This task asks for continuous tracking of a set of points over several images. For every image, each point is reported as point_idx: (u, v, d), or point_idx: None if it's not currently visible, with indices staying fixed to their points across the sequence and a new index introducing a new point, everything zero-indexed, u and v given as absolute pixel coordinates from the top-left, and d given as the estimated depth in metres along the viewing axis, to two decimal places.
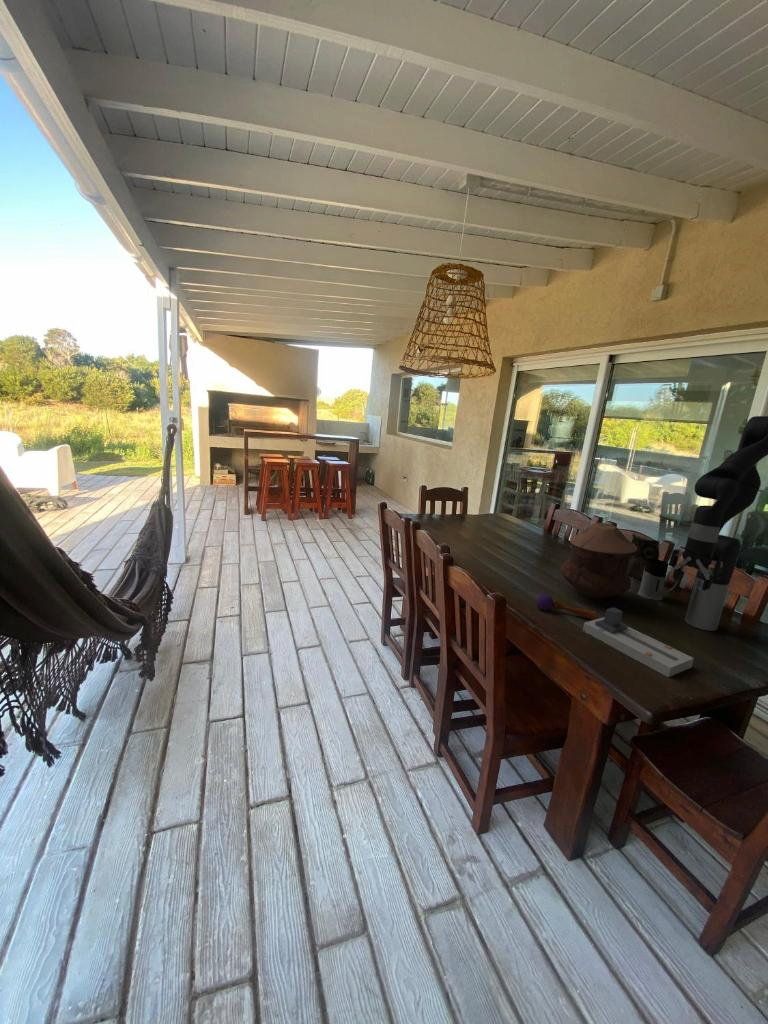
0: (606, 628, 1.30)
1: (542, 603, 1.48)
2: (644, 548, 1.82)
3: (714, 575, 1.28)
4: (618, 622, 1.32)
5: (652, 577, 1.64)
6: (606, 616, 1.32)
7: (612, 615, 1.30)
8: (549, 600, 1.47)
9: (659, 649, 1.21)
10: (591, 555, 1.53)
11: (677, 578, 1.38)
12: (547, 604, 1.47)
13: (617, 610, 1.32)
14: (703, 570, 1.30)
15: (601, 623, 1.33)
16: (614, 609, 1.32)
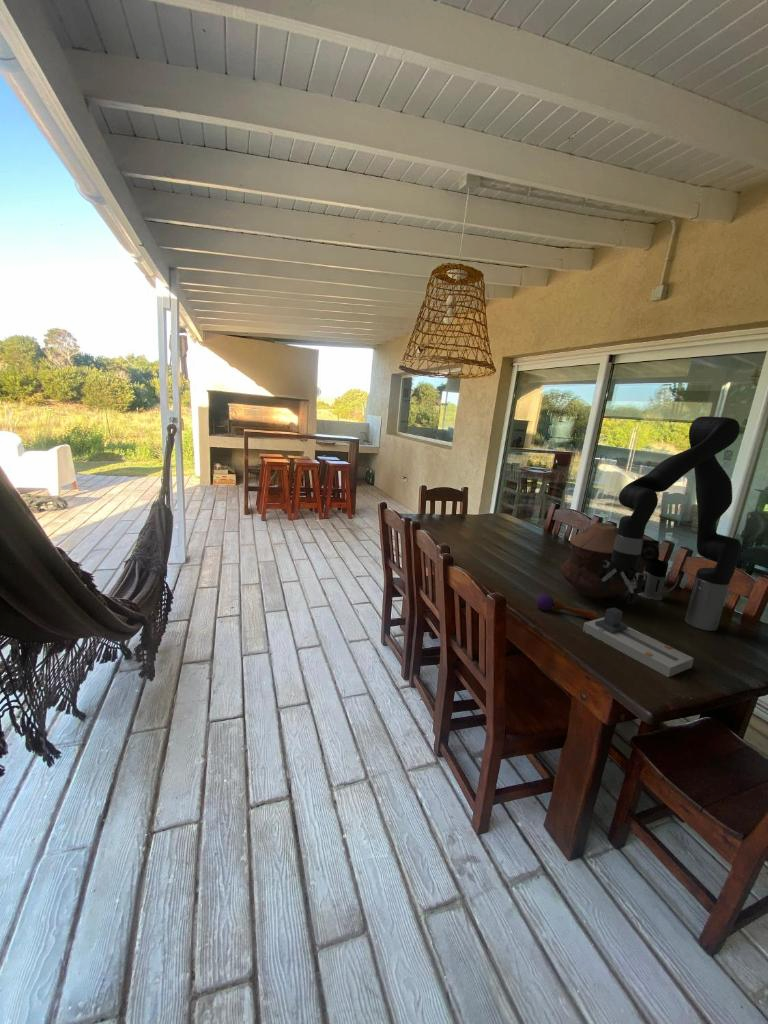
0: (606, 628, 1.30)
1: (542, 603, 1.47)
2: (644, 548, 1.82)
3: (637, 588, 1.23)
4: (618, 622, 1.32)
5: (652, 577, 1.64)
6: (606, 616, 1.32)
7: (612, 615, 1.30)
8: (549, 600, 1.47)
9: (659, 649, 1.21)
10: (591, 555, 1.53)
11: (605, 590, 1.34)
12: (547, 604, 1.47)
13: (617, 610, 1.32)
14: (627, 583, 1.26)
15: (601, 623, 1.33)
16: (614, 609, 1.32)
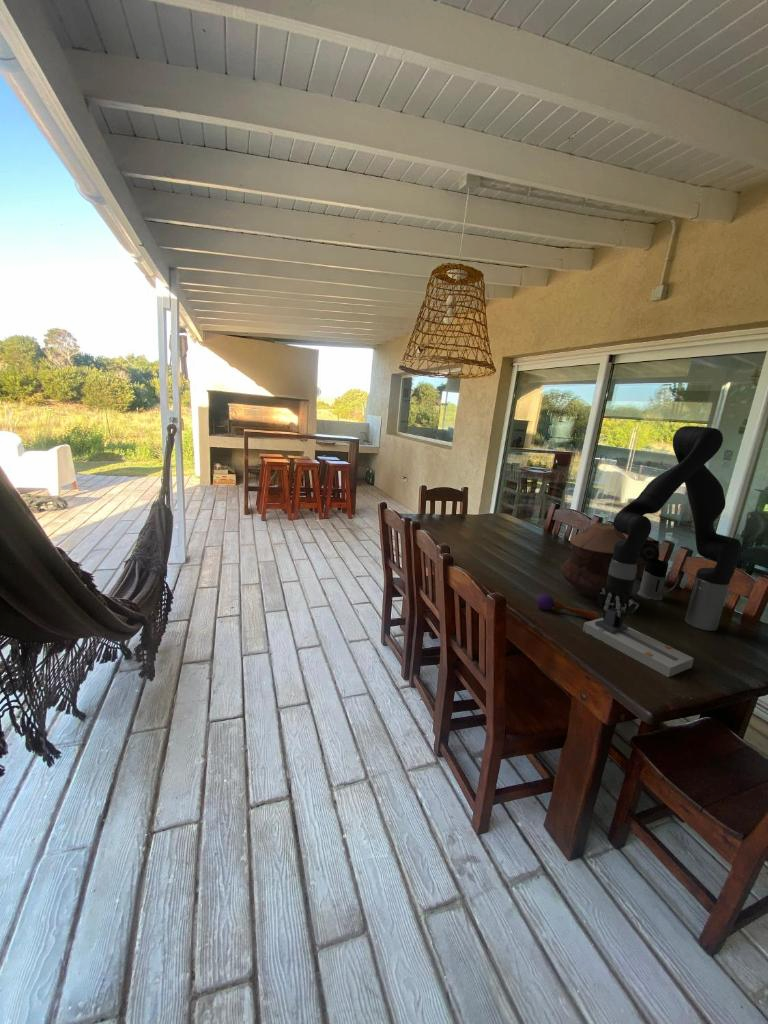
0: (606, 628, 1.30)
1: (542, 603, 1.48)
2: (644, 548, 1.82)
3: (624, 613, 1.28)
4: None
5: (652, 577, 1.64)
6: (606, 616, 1.32)
7: (612, 615, 1.30)
8: (550, 600, 1.47)
9: (659, 649, 1.21)
10: (591, 555, 1.53)
11: None
12: (547, 604, 1.47)
13: None
14: (618, 607, 1.29)
15: (601, 623, 1.33)
16: (614, 609, 1.32)
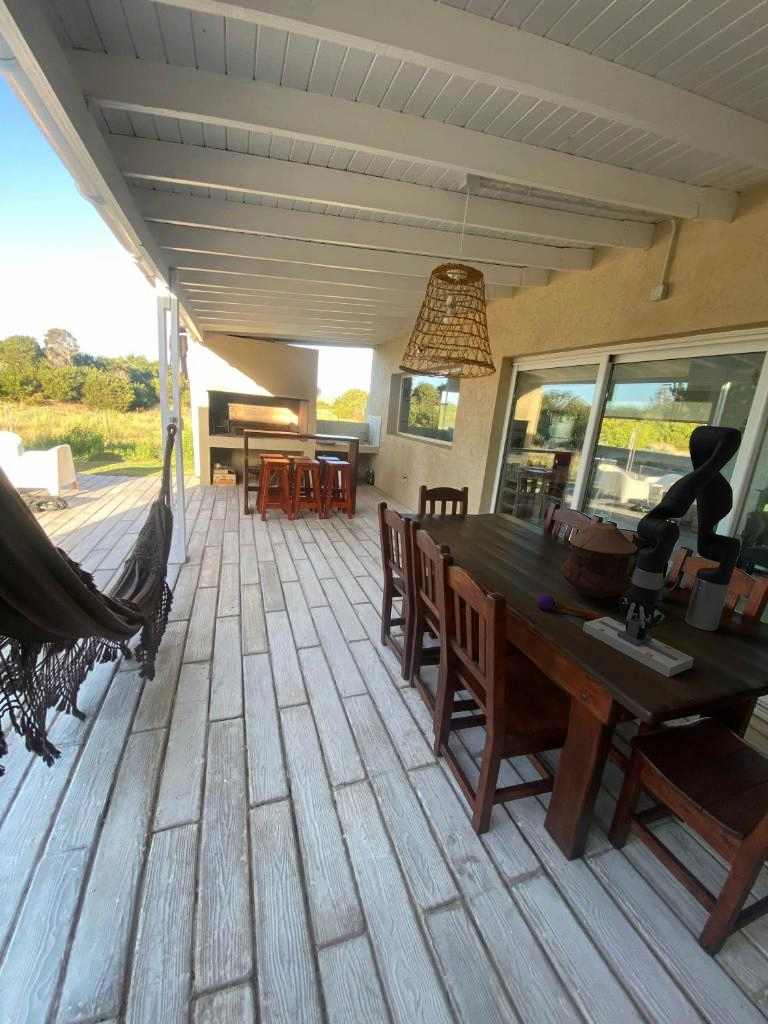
0: (629, 640, 1.24)
1: (542, 603, 1.48)
2: None
3: (648, 624, 1.21)
4: None
5: None
6: (629, 627, 1.26)
7: (636, 627, 1.24)
8: (550, 600, 1.48)
9: (659, 649, 1.21)
10: (591, 555, 1.53)
11: None
12: (548, 604, 1.47)
13: None
14: (642, 618, 1.22)
15: (624, 634, 1.26)
16: (637, 620, 1.26)
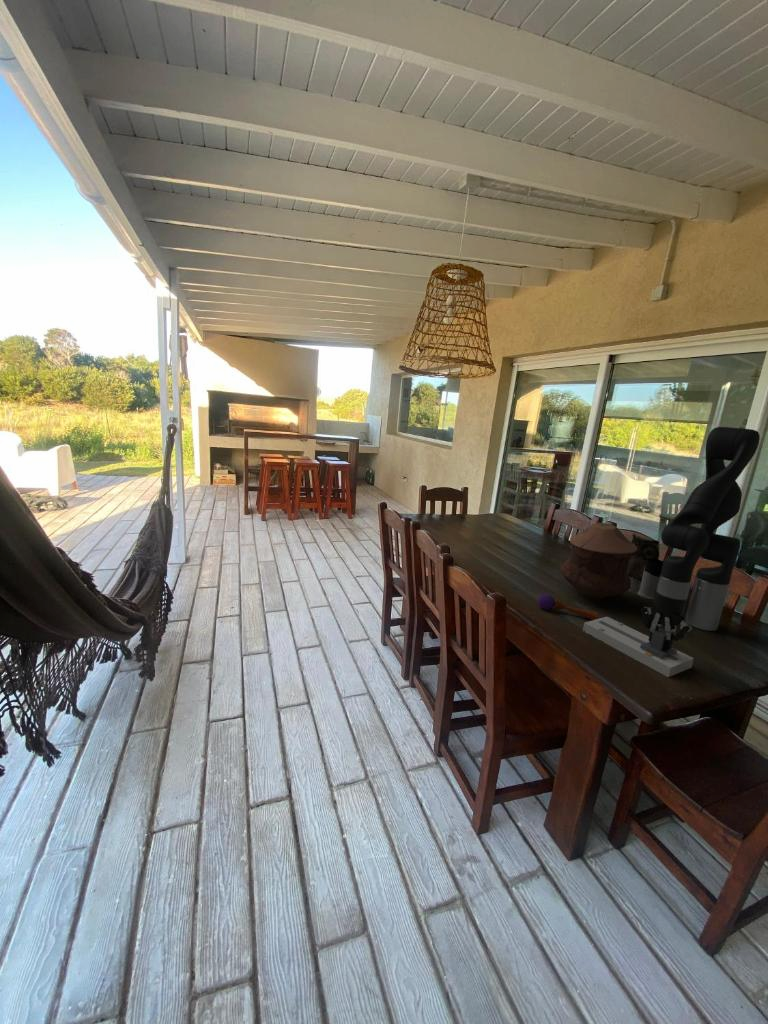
0: (654, 652, 1.17)
1: (543, 603, 1.48)
2: (644, 548, 1.82)
3: (674, 636, 1.15)
4: None
5: (652, 577, 1.64)
6: (653, 639, 1.19)
7: (661, 638, 1.17)
8: (550, 599, 1.48)
9: None
10: (591, 555, 1.53)
11: None
12: (548, 603, 1.47)
13: (665, 632, 1.19)
14: (667, 630, 1.16)
15: (647, 646, 1.20)
16: (662, 631, 1.20)
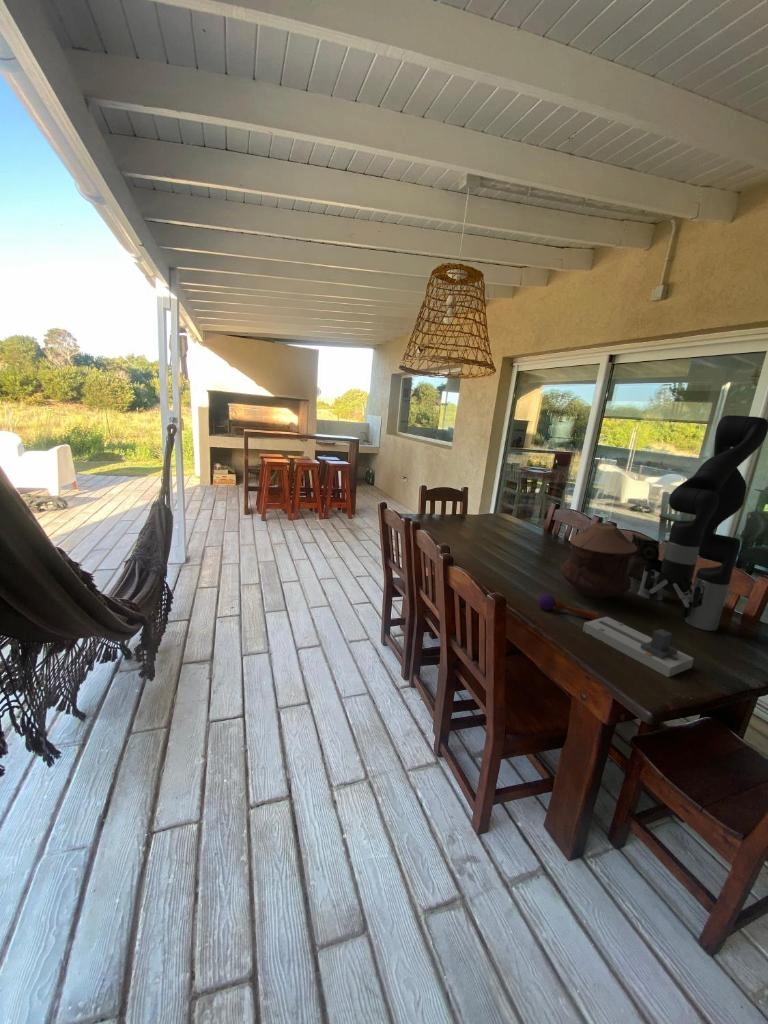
0: (654, 653, 1.17)
1: (543, 603, 1.48)
2: (644, 548, 1.82)
3: (694, 602, 1.10)
4: (667, 646, 1.19)
5: None
6: (653, 639, 1.19)
7: (661, 639, 1.17)
8: (551, 600, 1.48)
9: None
10: (591, 555, 1.53)
11: (653, 603, 1.21)
12: (548, 604, 1.47)
13: (666, 632, 1.19)
14: (681, 596, 1.12)
15: (648, 646, 1.20)
16: (662, 631, 1.19)
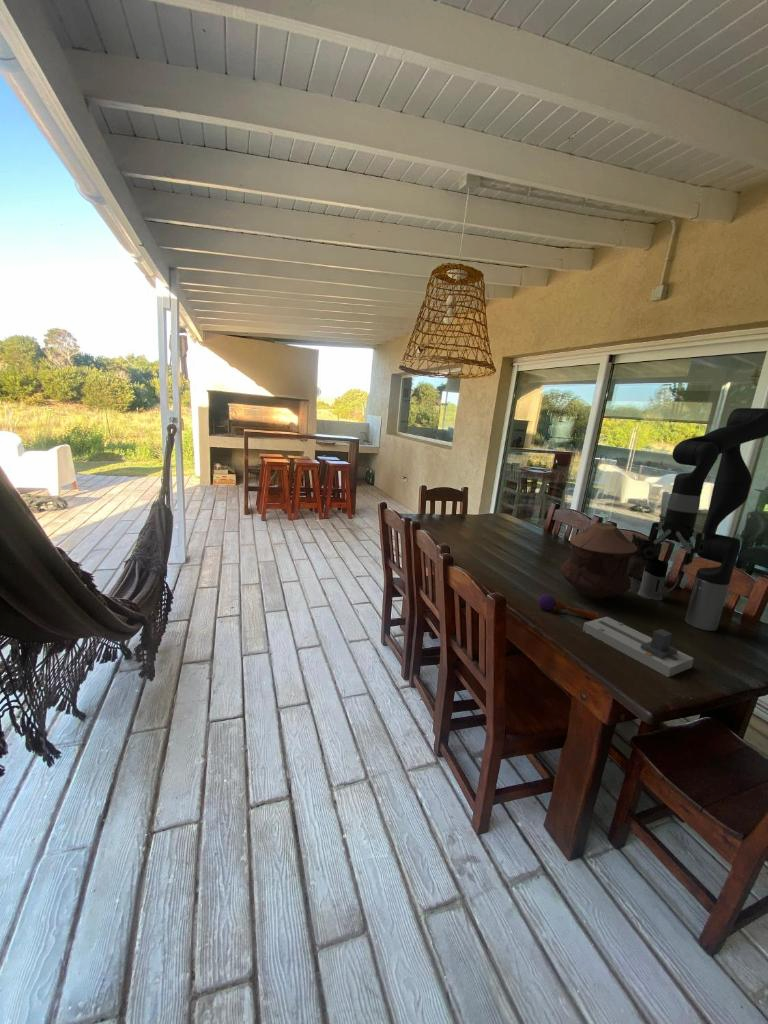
0: (654, 653, 1.17)
1: (543, 603, 1.48)
2: (644, 548, 1.82)
3: (695, 548, 1.18)
4: (667, 646, 1.19)
5: (652, 577, 1.64)
6: (653, 639, 1.19)
7: (661, 639, 1.17)
8: (551, 600, 1.47)
9: None
10: (591, 555, 1.53)
11: (657, 553, 1.28)
12: (549, 604, 1.47)
13: (666, 632, 1.19)
14: (684, 543, 1.20)
15: (648, 646, 1.20)
16: (662, 631, 1.19)
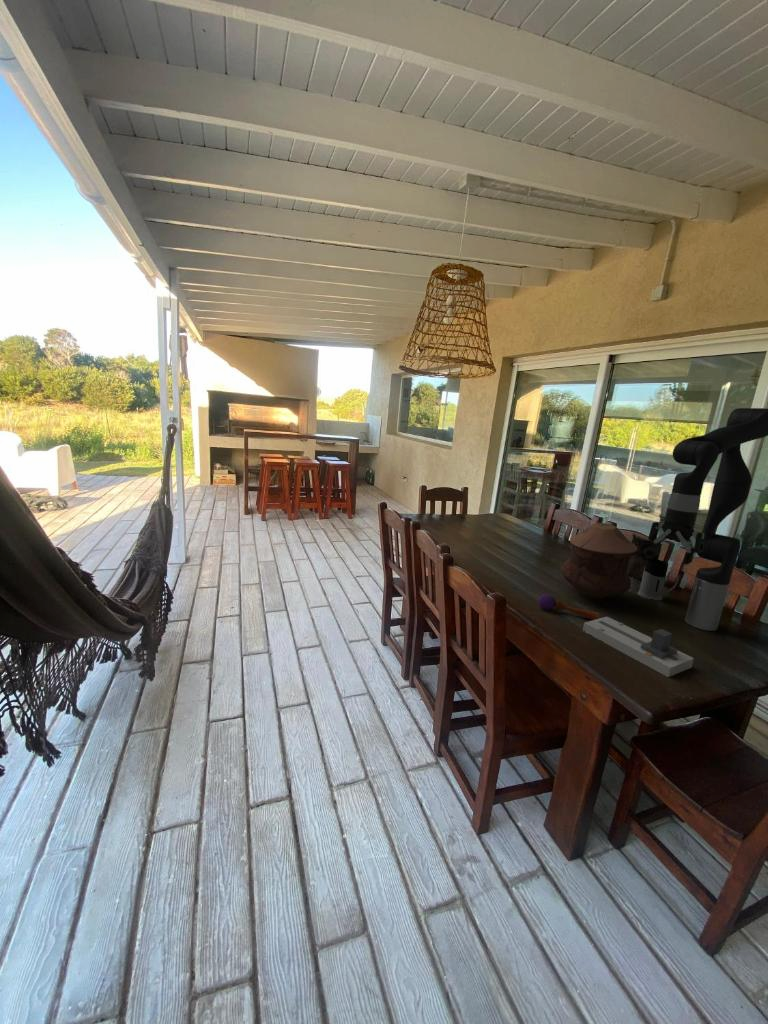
0: (654, 653, 1.17)
1: (544, 603, 1.48)
2: (644, 548, 1.82)
3: (695, 547, 1.18)
4: (667, 646, 1.19)
5: (652, 577, 1.64)
6: (653, 639, 1.19)
7: (661, 639, 1.17)
8: (551, 600, 1.48)
9: None
10: (591, 555, 1.53)
11: (657, 553, 1.28)
12: (549, 604, 1.47)
13: (666, 632, 1.19)
14: (684, 543, 1.20)
15: (648, 646, 1.20)
16: (662, 631, 1.19)
